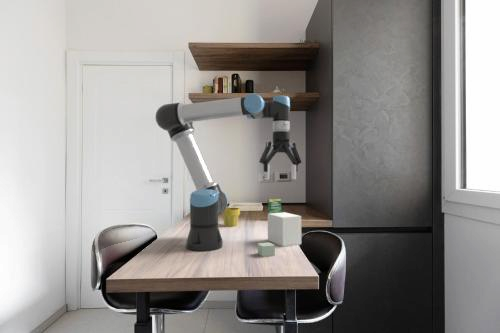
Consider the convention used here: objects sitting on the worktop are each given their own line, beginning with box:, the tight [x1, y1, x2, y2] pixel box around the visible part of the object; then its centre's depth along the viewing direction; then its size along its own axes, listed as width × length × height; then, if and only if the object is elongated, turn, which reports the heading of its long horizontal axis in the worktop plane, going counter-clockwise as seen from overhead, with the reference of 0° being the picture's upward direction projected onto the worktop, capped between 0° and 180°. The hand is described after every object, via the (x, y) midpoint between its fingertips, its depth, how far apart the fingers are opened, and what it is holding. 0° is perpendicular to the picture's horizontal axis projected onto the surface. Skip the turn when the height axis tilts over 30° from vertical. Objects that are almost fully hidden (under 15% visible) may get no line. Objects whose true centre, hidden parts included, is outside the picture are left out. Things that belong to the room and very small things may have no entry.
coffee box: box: [267, 198, 282, 215], centre depth 203 cm, size 8×3×13 cm, turn 101°
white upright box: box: [267, 211, 302, 247], centre depth 144 cm, size 9×13×12 cm
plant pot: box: [221, 206, 241, 228], centre depth 184 cm, size 10×10×10 cm
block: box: [257, 241, 276, 258], centre depth 124 cm, size 5×5×4 cm
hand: (280, 179), depth 145 cm, fingers open, 13 cm apart
